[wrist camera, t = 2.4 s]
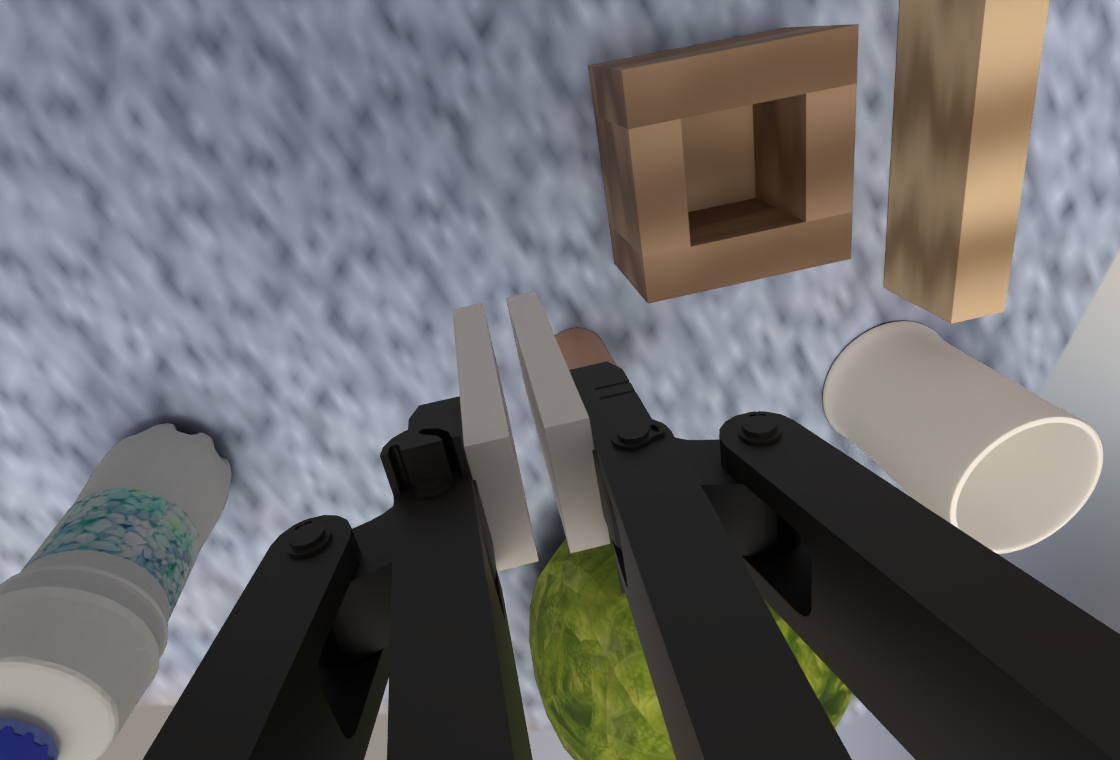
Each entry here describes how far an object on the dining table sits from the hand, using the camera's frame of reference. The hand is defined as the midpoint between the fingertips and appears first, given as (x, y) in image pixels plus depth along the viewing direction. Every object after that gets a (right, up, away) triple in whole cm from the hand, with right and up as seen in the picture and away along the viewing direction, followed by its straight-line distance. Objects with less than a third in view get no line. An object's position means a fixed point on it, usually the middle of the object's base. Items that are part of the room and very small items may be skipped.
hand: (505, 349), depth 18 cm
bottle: (-20, -5, +21) cm, 29 cm away
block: (+8, +11, +18) cm, 23 cm away
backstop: (+21, +14, +19) cm, 31 cm away
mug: (+24, -1, +27) cm, 36 cm away
